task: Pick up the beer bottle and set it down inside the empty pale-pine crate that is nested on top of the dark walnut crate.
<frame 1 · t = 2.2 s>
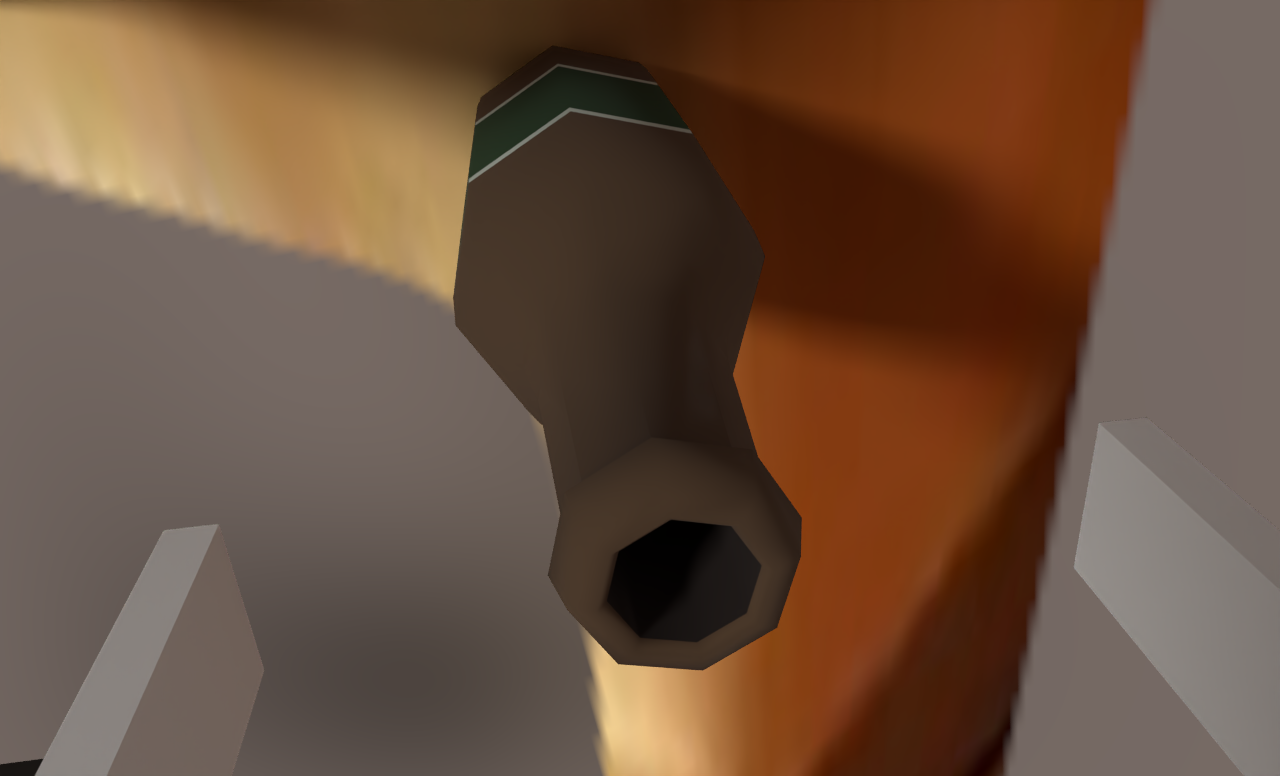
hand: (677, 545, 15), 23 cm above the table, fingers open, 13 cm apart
beer bottle: (576, 153, 35), on the table
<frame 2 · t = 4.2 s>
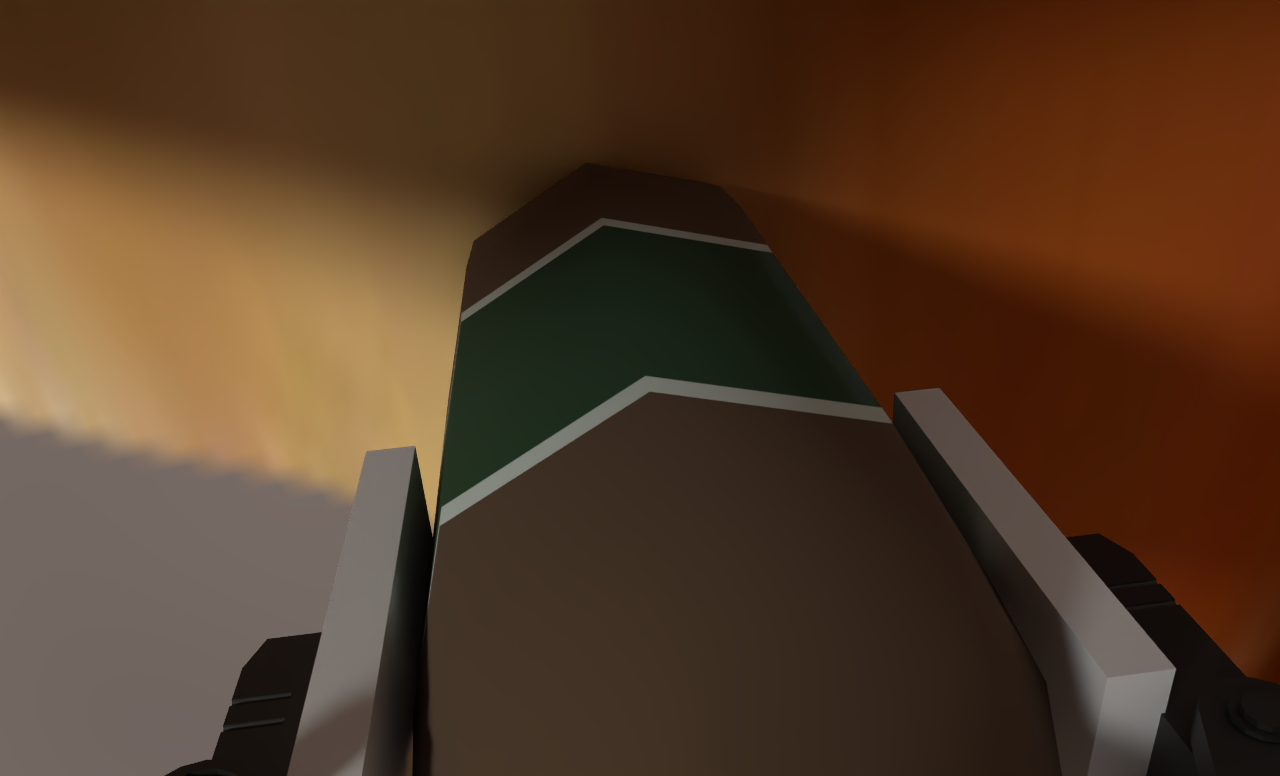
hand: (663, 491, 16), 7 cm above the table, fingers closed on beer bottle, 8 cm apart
beer bottle: (619, 315, 23), on the table, touching gripper
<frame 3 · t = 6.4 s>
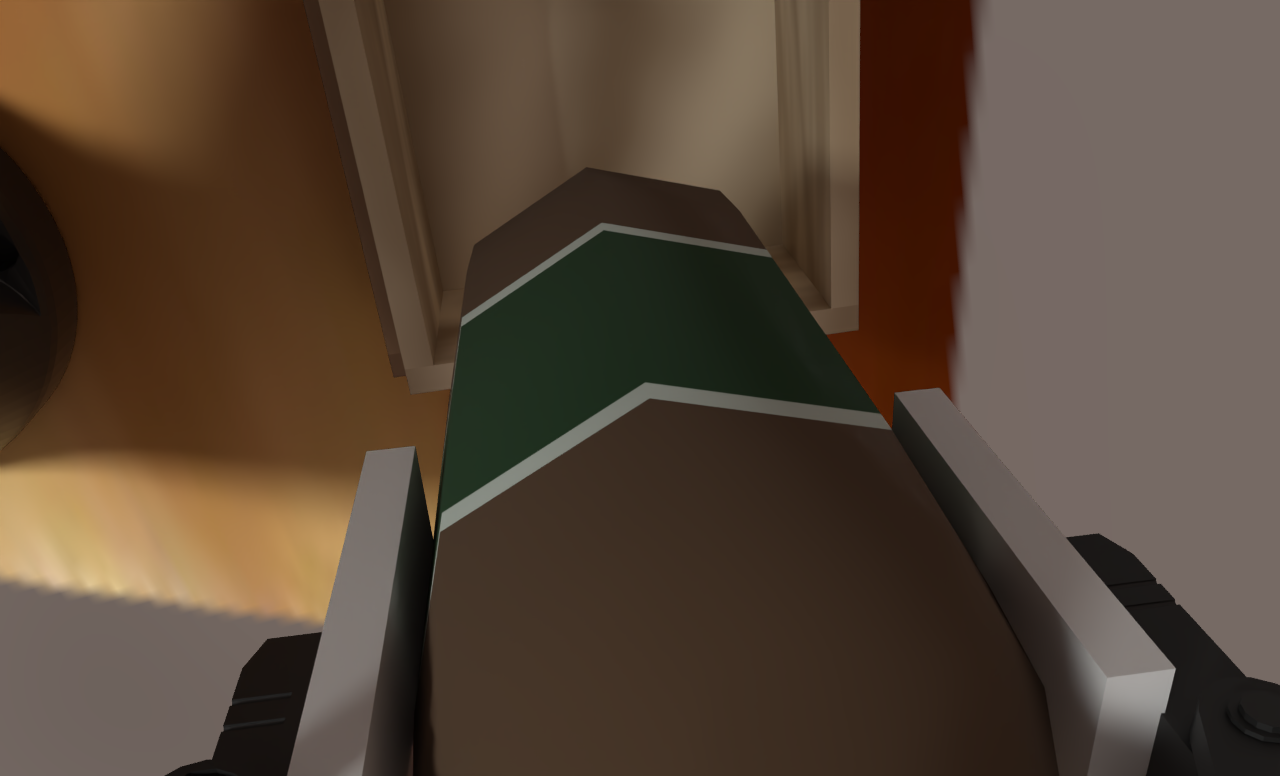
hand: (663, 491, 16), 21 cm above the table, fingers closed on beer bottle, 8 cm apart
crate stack: (584, 71, 34), on the table
beer bottle: (619, 319, 23), point 14 cm above the table, touching gripper
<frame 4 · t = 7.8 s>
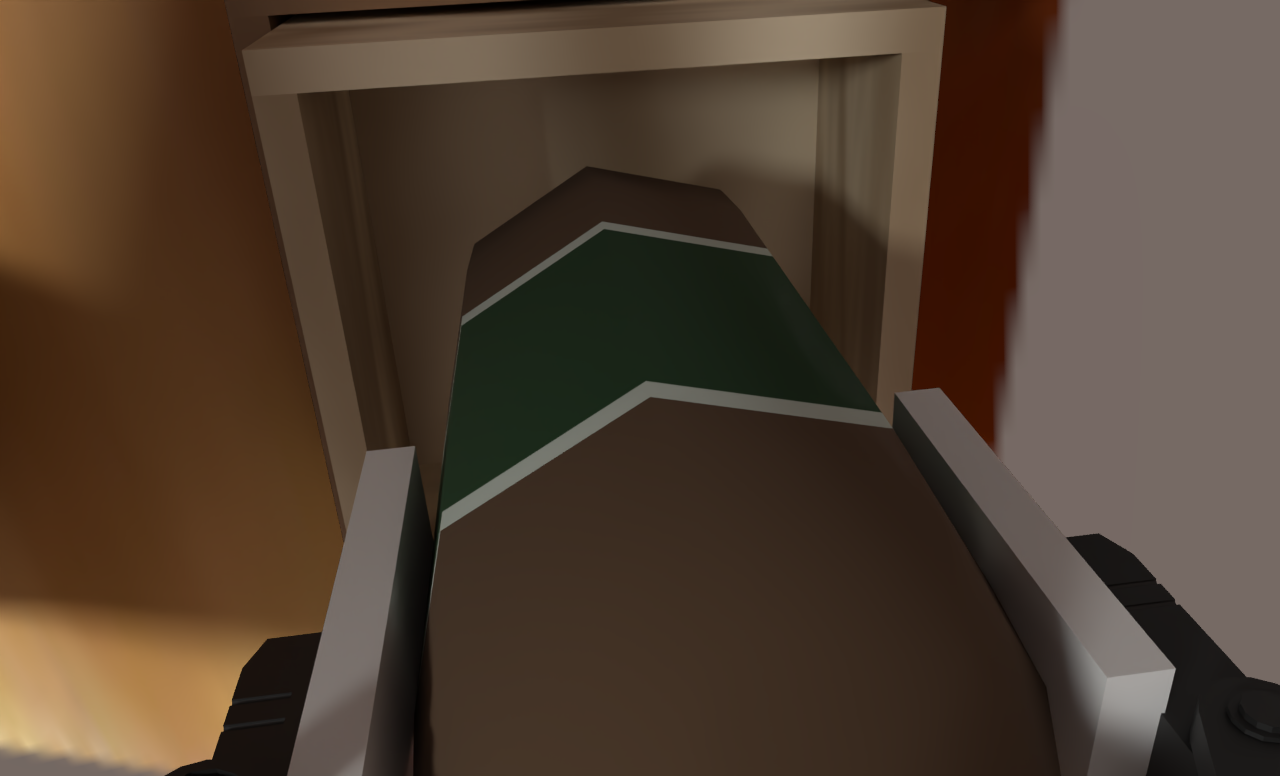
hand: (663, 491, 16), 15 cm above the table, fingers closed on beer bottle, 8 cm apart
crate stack: (589, 215, 30), on the table
beer bottle: (619, 318, 23), point 8 cm above the table, touching gripper
when the fingers open (12 cm above the table, at t = 8.8 s): beer bottle drops 1 cm, resting on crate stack.
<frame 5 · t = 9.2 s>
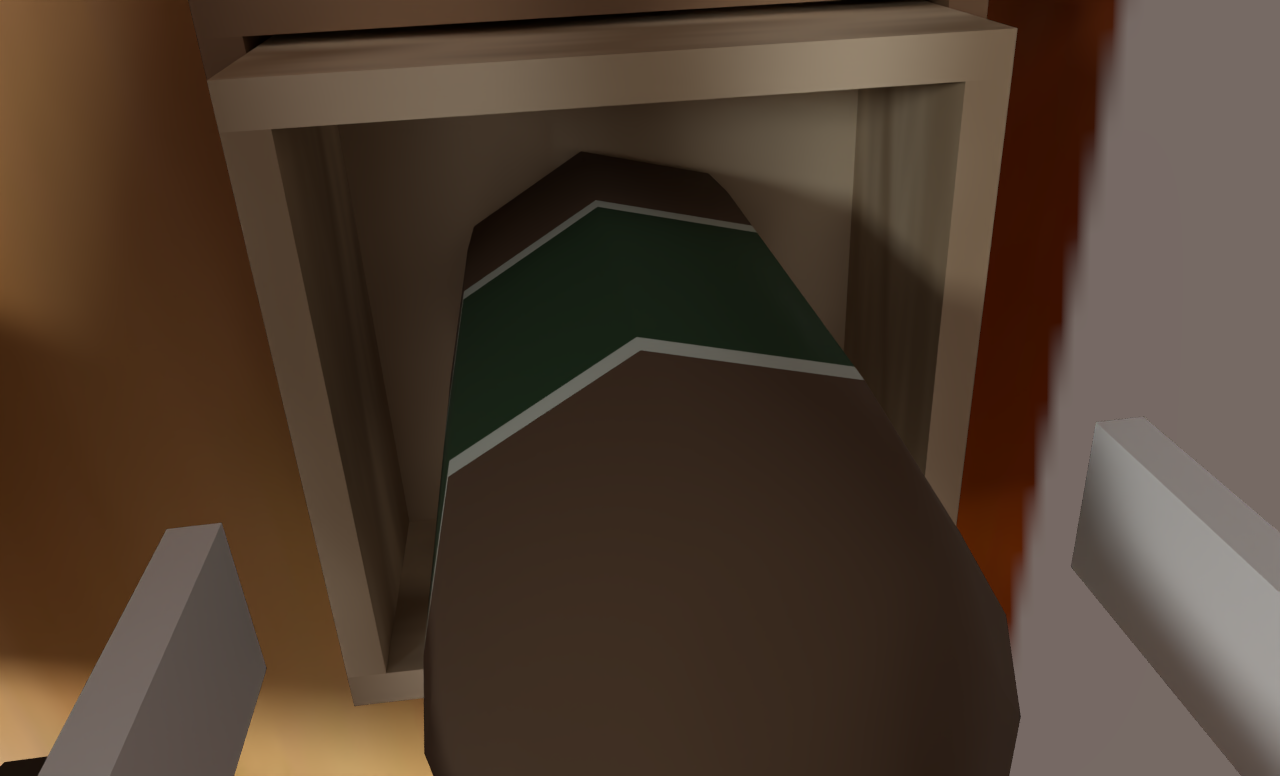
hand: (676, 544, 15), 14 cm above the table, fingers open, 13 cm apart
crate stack: (601, 247, 27), on the table
beer bottle: (613, 298, 24), point 4 cm above the table, touching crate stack
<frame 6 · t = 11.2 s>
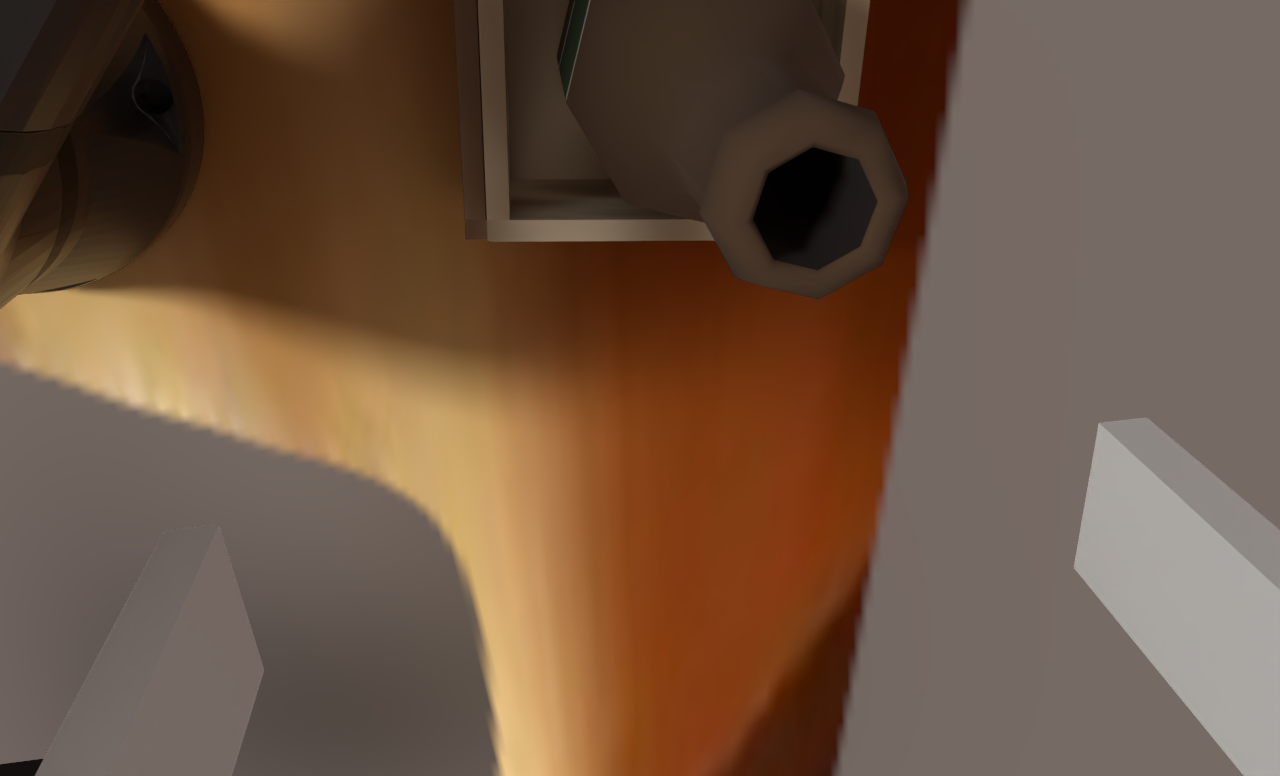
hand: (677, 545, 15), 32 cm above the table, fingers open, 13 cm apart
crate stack: (645, 21, 42), on the table
beer bottle: (654, 33, 39), point 4 cm above the table, touching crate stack
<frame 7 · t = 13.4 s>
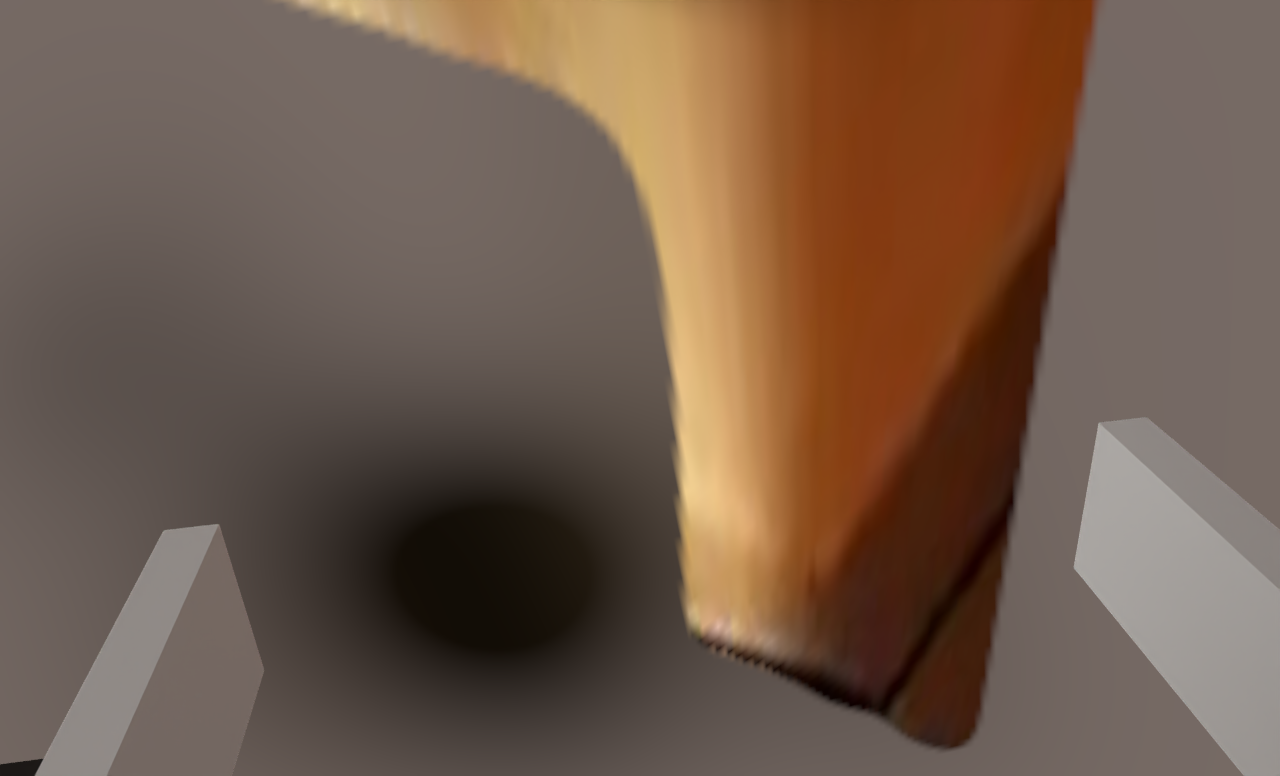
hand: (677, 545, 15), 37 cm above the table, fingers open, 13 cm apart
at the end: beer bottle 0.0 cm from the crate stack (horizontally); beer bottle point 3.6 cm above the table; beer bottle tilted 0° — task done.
